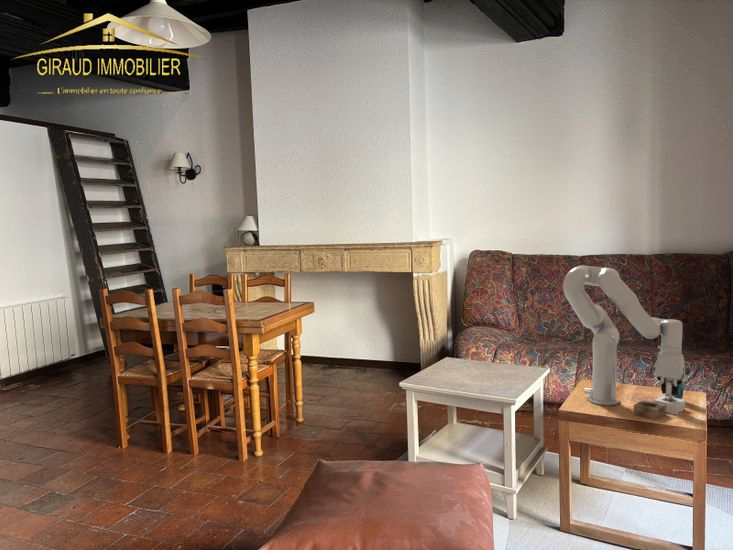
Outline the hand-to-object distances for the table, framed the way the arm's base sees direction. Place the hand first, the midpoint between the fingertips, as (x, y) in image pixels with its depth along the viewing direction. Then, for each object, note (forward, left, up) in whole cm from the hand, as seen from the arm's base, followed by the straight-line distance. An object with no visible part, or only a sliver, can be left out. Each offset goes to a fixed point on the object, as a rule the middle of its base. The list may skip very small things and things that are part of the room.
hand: (669, 393), depth 251 cm
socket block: (-3, -12, -7) cm, 14 cm away
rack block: (0, 0, -7) cm, 7 cm away
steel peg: (0, 0, -5) cm, 5 cm away
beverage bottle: (-3, +14, -7) cm, 16 cm away
